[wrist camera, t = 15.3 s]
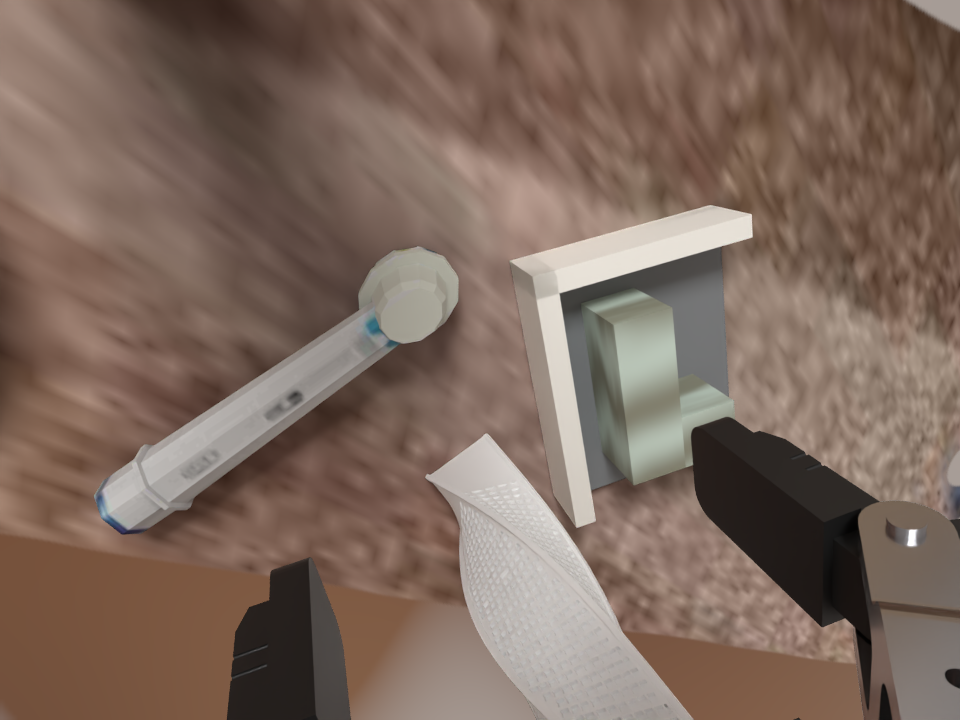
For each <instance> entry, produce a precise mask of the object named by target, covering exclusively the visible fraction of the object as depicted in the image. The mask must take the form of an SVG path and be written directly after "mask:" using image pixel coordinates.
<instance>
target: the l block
mask: <svg viewBox="0 0 960 720" xmlns="http://www.w3.org/2000/svg"><path fill="white" fill-rule="evenodd" d="M581 309H582V316H583V323H584V329H585V336H586V343H587V350H588V357H589V364H590V371H591V378H592V385H593V392H594V399H595V406H596V413H597V419H598V426H599V433H600V440H601V447H602V452H603V453H604V454H605V455H606V456H607V457H608V458H609V459H610V460H611V462H612V463H613V464H614V465H615V466H616V467H617V468H618V469H619V470H620V471H621V472H622V473H623V475H624V476H625V477H626V478H627V479H628V480H629V481H630V482H631V483H632V484H633V485H637V484H640V483H643V482H646V481H649V480H651V479H654V478H657V477H660V476H663V475H666V474H669V473H671V472H674V471H677V470H680V469H683V468H686V467H689V466H691V465H693V458H692V446H691V432H692V430H693V428H695V427H697V426H700V425H703V424H706V423H709V422H712V421H715V420H718V419H721V418H724V417H731V418H733V419H734V420H735V413H734V400H732V399H731V398H729V397H728V396H726V395H725V394H723V393H722V392H720V391H718V390H717V389H715V388H714V387H712V386H711V385H709V384H708V383H706V382H705V381H703V380H702V379H700V378H699V377H697V376H695V375H694V374H691V375H688V376H685V377H682V378H678V370H677V358H676V346H675V334H674V322H673V310H672V307H670V306H668V305H666V304H664V303H662V302H660V301H659V300H657V299H655V298H653V297H651V296H649V295H647V294H645V293H643V292H641V291H639V290H637V289H635V288H631V289H628V290H625V291H621V292H618V293H614V294H611V295H608V296H604V297H601V298H597V299H594V300H590V301H587V302H584V303H581Z"/></svg>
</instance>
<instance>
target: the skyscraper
mask: <svg viewBox="0 0 960 720" xmlns="http://www.w3.org/2000/svg"><path fill="white" fill-rule="evenodd" d="M425 478H426V479H427V480H428V481H430V482H432V483H433V484H434V485H435V486H436V487H437V489H438V490H439V491H440V492H441V493H442V495H443V496H444V497H445V498H446V500H447V501H448V502H449V504H450V506H451V507H452V509H453V511H454V513H455V515H456V518H457V520H458V523H459V527H460V542H459V557H460V572H461V580H462V586H463V591H464V596H465V600H466V603H467V606H468V609H469V612H470V615H471V618H472V620H473V622H474V625H475V627H476V629H477V631H478V633H479V635H480V637H481V639H482V641H483V643H484V644H485V646H486V647H487V648H488V650H489V652H490V653H491V655H492V656H493V658H494V659H495V661H496V662H497V663H498V665H499V666H500V667H501V668H502V670H503V671H504V672H505V674H506V675H507V676H508V678H509V679H510V680H511V681H512V683H513V684H514V685H515V686H516V687H517V688H518V689H519V690H520V692H521V693H522V694H523V695H524V696H525V698H526V700H527V702H528V704H529V705H530V707H531V709H532V711H533V713H534V715H535V718H536V720H694V719H693V718H692V717H691V716H690V714H689V713H688V712H687V711H686V709H685V708H684V707H683V706H682V705H681V703H680V702H679V701H678V699H677V698H676V697H675V696H674V695H673V693H672V692H671V691H670V689H669V688H668V687H667V686H666V685H665V683H664V682H663V681H662V680H661V678H660V677H659V676H658V675H657V673H656V672H655V671H654V670H653V668H652V667H651V666H650V665H649V664H648V662H647V661H646V660H645V659H644V658H643V656H642V655H641V654H640V653H639V652H638V650H637V649H636V648H635V647H634V646H633V645H632V643H631V642H630V641H629V639H628V638H627V637H626V636H625V635H624V634H623V632H622V630H621V628H620V625H619V623H618V621H617V618H616V616H615V614H614V612H613V610H612V608H611V606H610V604H609V602H608V600H607V598H606V596H605V594H604V592H603V590H602V588H601V587H600V585H599V583H598V581H597V579H596V578H595V576H594V574H593V572H592V570H591V569H590V567H589V565H588V564H587V562H586V561H585V559H584V557H583V556H582V554H581V552H580V551H579V549H578V548H577V546H576V545H575V543H574V542H573V540H572V539H571V537H570V536H569V534H568V533H567V531H566V530H565V529H564V527H563V526H562V524H561V523H560V521H559V520H558V519H557V517H556V516H555V515H554V513H553V512H552V511H551V509H550V508H549V507H548V505H547V504H546V503H545V501H544V500H543V499H542V498H541V496H540V495H539V494H538V493H537V491H536V490H535V489H534V488H533V486H532V485H531V484H530V482H529V481H528V480H527V479H526V478H525V476H524V475H523V474H522V473H521V472H520V471H519V469H518V468H517V467H516V466H515V465H514V463H513V462H512V461H511V460H510V459H509V457H508V456H507V455H506V454H505V453H504V452H503V450H502V449H501V448H500V447H499V446H498V445H497V443H496V442H495V441H494V440H493V439H492V438H491V437H490V435H489V434H487V433H486V434H484V435H483V437H482V438H480V439H479V440H478V441H476V442H475V443H473V444H472V445H471V446H469V447H468V448H467V449H465V450H464V451H462V452H461V453H460V454H458V455H457V456H456V457H454V458H453V459H452V460H450V461H449V462H447V463H446V464H445V465H443V466H442V467H441V468H439V469H438V470H436V471H435V472H434V473H432V474H431V475H429V474H427V475H426V477H425Z"/></svg>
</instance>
